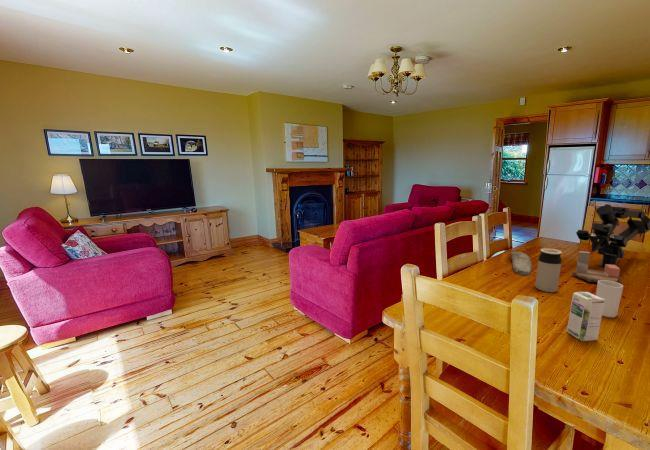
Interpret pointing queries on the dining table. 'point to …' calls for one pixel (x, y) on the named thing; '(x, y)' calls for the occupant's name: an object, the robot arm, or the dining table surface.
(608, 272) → the dusty pink block
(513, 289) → the dining table surface
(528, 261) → the elongated rock
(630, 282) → the dining table surface
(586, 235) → the robot arm
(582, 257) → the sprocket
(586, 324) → the syrup box
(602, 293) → the mug
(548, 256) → the travel mug
